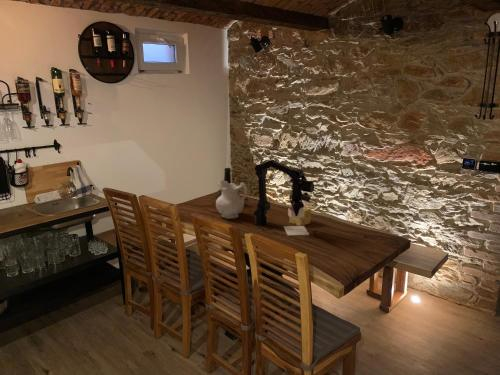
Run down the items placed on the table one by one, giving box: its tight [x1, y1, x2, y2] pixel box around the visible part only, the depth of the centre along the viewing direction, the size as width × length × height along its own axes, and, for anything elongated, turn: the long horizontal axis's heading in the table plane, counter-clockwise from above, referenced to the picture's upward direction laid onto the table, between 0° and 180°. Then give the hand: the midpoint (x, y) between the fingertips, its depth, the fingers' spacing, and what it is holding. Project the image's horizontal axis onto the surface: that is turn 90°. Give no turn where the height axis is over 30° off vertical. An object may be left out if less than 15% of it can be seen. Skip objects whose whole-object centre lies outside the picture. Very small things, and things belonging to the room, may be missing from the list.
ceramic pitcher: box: [215, 179, 248, 220], centre depth 267 cm, size 22×20×25 cm
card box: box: [287, 207, 305, 218], centre depth 240 cm, size 8×6×5 cm, turn 103°
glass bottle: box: [215, 167, 240, 201], centre depth 291 cm, size 18×18×28 cm
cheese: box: [288, 206, 312, 226], centre depth 257 cm, size 10×11×10 cm
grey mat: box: [283, 225, 310, 237], centre depth 243 cm, size 13×14×1 cm
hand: (295, 214), depth 240 cm, fingers closed on card box, 6 cm apart
